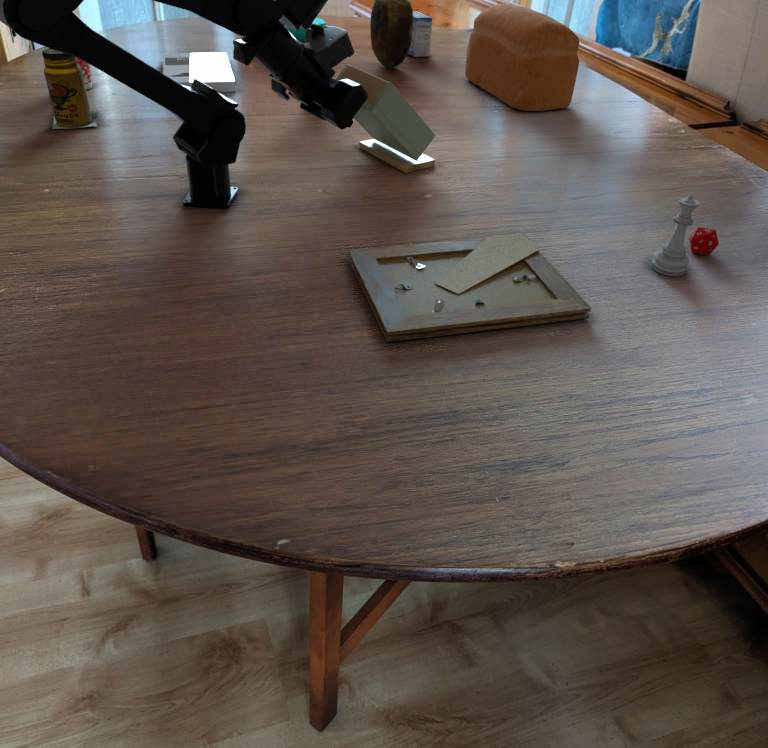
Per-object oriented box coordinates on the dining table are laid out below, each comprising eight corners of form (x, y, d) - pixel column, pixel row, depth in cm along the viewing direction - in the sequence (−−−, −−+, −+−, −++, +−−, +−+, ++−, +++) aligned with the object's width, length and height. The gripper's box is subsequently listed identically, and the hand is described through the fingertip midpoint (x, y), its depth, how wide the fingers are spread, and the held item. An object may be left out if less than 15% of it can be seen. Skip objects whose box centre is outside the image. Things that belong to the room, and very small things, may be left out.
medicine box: (399, 49, 178) (401, 11, 173) (415, 48, 180) (417, 10, 175) (413, 57, 173) (416, 17, 167) (430, 56, 174) (433, 17, 169)
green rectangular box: (416, 161, 116) (371, 111, 106) (373, 138, 123) (327, 90, 113) (435, 135, 115) (392, 83, 105) (391, 114, 123) (346, 63, 113)
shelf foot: (405, 172, 115) (405, 166, 114) (359, 147, 123) (359, 141, 122) (434, 165, 118) (435, 159, 117) (387, 141, 126) (387, 135, 125)
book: (163, 63, 160) (162, 53, 159) (226, 61, 163) (226, 52, 162) (164, 93, 142) (163, 83, 141) (235, 91, 146) (235, 81, 144)
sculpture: (415, 74, 161) (422, -27, 149) (378, 75, 159) (382, -28, 147) (399, 59, 171) (404, -38, 159) (364, 60, 169) (367, -38, 157)
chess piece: (652, 257, 95) (673, 184, 89) (687, 264, 94) (711, 191, 88) (649, 272, 92) (671, 197, 86) (685, 279, 90) (710, 204, 84)
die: (727, 248, 96) (717, 219, 95) (715, 256, 94) (705, 226, 93) (701, 254, 98) (692, 227, 98) (689, 262, 96) (679, 234, 96)
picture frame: (522, 245, 96) (348, 261, 91) (524, 232, 95) (348, 248, 90) (588, 319, 82) (387, 343, 77) (591, 306, 81) (387, 329, 75)
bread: (516, 114, 141) (528, 26, 132) (459, 77, 160) (467, -2, 151) (576, 109, 145) (593, 23, 136) (514, 74, 165) (525, -3, 155)
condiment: (52, 130, 124) (34, 55, 116) (54, 114, 130) (38, 43, 123) (97, 127, 126) (82, 54, 118) (97, 112, 132) (83, 41, 125)
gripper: (357, 22, 93) (419, 97, 105) (284, -4, 105) (347, 66, 117) (306, 94, 94) (373, 160, 106) (240, 60, 106) (307, 123, 118)
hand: (350, 124), depth 112 cm, fingers closed
